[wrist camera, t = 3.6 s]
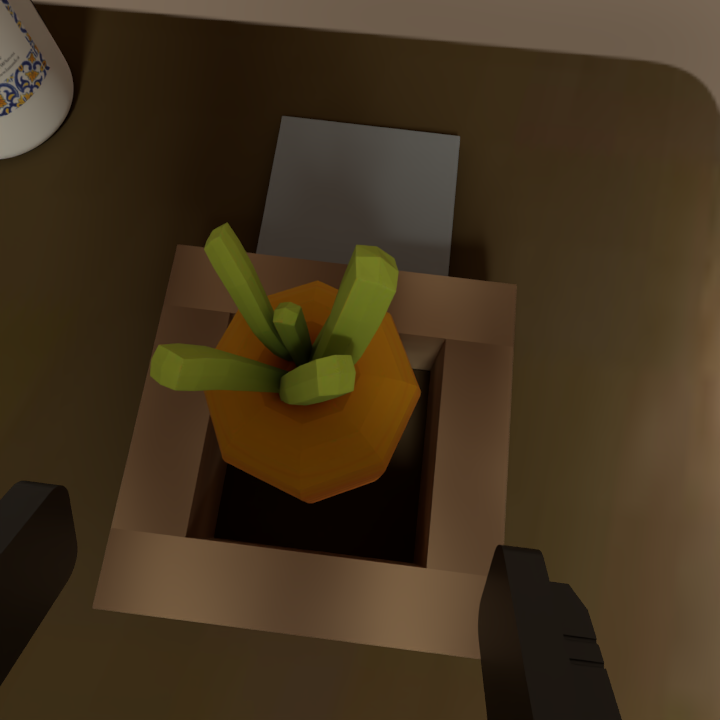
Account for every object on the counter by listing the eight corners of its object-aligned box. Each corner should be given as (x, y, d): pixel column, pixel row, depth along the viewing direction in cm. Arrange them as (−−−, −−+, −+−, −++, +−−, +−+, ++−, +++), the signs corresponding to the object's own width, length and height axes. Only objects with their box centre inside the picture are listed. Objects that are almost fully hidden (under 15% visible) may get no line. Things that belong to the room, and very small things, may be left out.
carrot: (255, 512, 22) (86, 465, 8) (269, 384, 24) (146, 147, 9) (388, 521, 22) (459, 487, 8) (393, 392, 24) (462, 166, 9)
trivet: (253, 284, 25) (251, 278, 24) (283, 124, 27) (282, 115, 27) (443, 307, 25) (445, 301, 24) (457, 144, 27) (460, 136, 27)
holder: (138, 595, 21) (92, 608, 18) (203, 289, 25) (177, 244, 21) (471, 639, 21) (498, 661, 17) (490, 324, 25) (517, 284, 21)
